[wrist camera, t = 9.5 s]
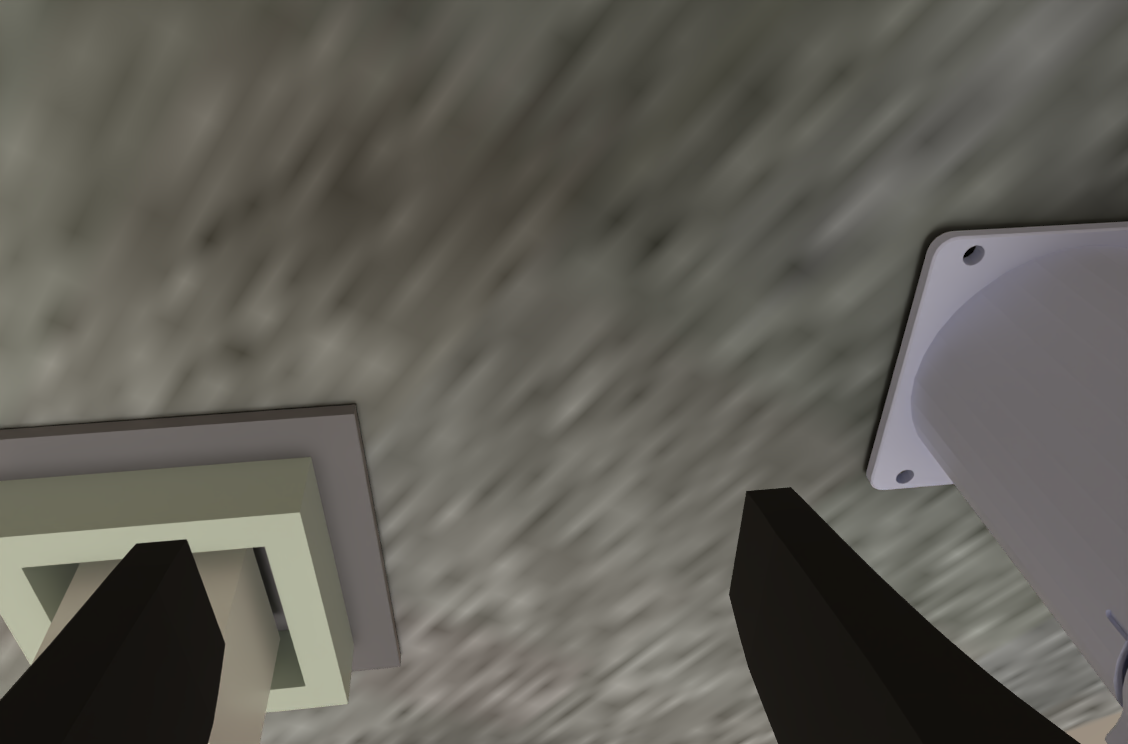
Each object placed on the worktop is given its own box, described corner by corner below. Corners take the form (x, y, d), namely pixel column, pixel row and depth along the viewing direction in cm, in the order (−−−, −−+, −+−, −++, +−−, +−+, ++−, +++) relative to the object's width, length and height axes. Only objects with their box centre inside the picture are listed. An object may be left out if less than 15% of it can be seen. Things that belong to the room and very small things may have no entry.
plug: (255, 515, 22) (200, 723, 17) (284, 615, 24) (244, 823, 19) (95, 529, 21) (-8, 745, 16) (141, 628, 24) (62, 845, 19)
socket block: (355, 404, 21) (346, 467, 19) (400, 655, 26) (397, 724, 24) (-73, 435, 20) (-130, 505, 18) (71, 689, 25) (39, 763, 23)
